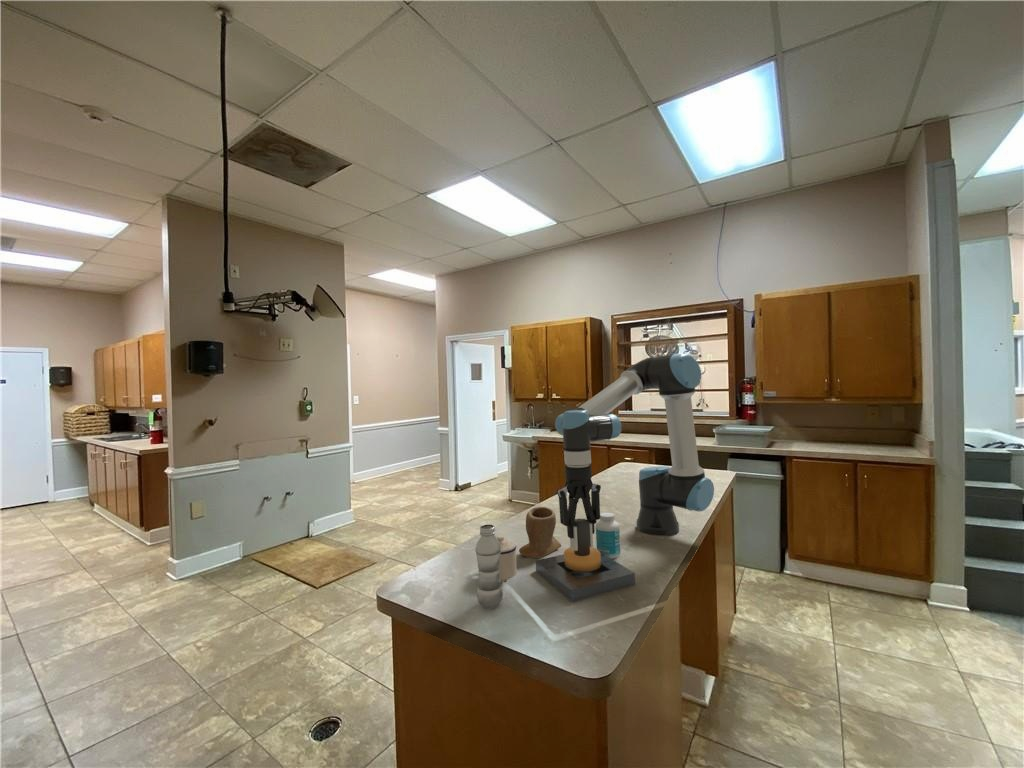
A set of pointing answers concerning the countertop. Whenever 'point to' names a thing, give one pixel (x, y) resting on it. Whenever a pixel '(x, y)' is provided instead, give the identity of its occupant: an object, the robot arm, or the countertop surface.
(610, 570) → the grey square socket block
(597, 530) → the pill bottle
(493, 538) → the plastic bottle
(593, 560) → the peg on round base
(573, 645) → the countertop surface
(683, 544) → the countertop surface
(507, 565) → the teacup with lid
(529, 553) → the stone cup
